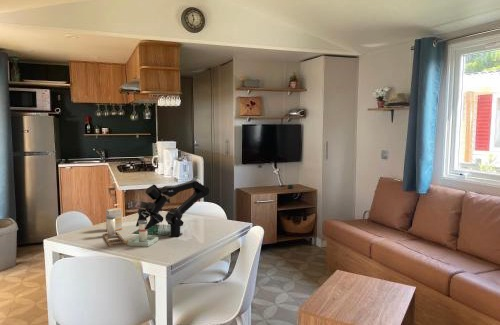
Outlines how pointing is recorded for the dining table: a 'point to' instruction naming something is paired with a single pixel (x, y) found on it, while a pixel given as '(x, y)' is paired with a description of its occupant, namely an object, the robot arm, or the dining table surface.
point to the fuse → (111, 225)
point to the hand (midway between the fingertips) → (140, 227)
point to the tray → (136, 242)
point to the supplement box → (118, 217)
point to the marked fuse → (142, 231)
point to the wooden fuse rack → (115, 239)
